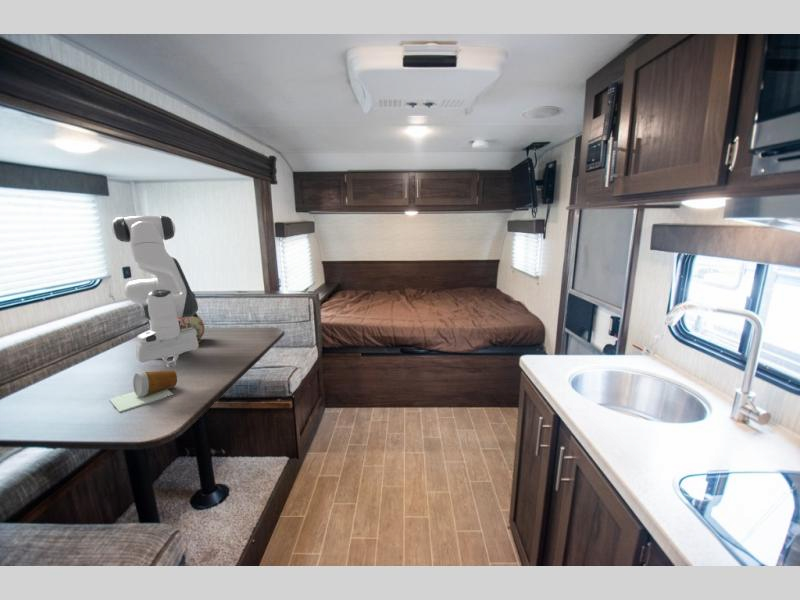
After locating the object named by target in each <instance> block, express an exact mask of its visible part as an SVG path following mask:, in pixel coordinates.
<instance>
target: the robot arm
mask: <svg viewBox="0 0 800 600" xmlns="http://www.w3.org/2000/svg"><path fill="white" fill-rule="evenodd" d="M111 231H112V234H113V236H114V237H115V238H116V239H117V240H118V241H119V242H124V243H130V246H131V248H130V249H131V252H132V255H133V258H134V261H135V262H136V263H137V266H138V268H139V269H140V270H141V271H143V272H145V273H147V274H150V275H153V276H154V277H155V278H154V277H153V278H139V279H135V280H130V281H128V282H127V283H126V284H125V286H124V289H123V290H124V294H125V296H126V298H127V299H128V300H129V301H131V302H133V303H136V304H137V305H138V306H140V307H141V308H142V309H143V313H144V314H143V315H144V319H147V320H148V323H149V329H148V330H146V331H144V332H141V333H139V334H137V336H136V337H137V341H138V342H137V343H136V347H135V354H136V355H135V356H136V360H137V361H138V362H140V363H147V362H151V361H154V360H159V359H161V360H163V361H164V362H165V365H166V367H167V368H170V367H173V366H177V360H178V358H179V355H182V354H183V353H187V352H190V351H193V350H198V348H199V347H200V345H199V344H200V343H198V340H197V337H196V335H197V332H196V329H195V328H192V327H189V328H184V329H180V328H179V322H178V320H177V318H180V317H182V318H183V317H192V316H193V315H194V314H195V313H196V314H197V312H198V311H199V303H198V300H197V298H196V296H195V297H194V295H193V293H194V292H193V291H192V289H191V287H190V285H189V282H188V280H187V277H186V275H185V273H184V270H183V269H182V267H181V264H180V262H179V261H178V260H177V258H175V257H173V256H171V255H170V254H169V253H168V252H167V250H166V247H165V243H164V241H167V240H171V239H173V238H174V237H175V233H176V225H175V223H174V221H173V220H172V219H171V218H170V217H169V216H167V215H160V216H159V215H146V214H145V215H143V214H142V215H135V216H133V215H132V216H126V217H124V216H119V217H115V219H113V221H112V224H111ZM192 292H193V293H192ZM172 357H173V358H172ZM168 358H172V360H169V361H168Z"/></svg>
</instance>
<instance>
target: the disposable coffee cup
mask: <svg viewBox="0 0 800 600" xmlns="http://www.w3.org/2000/svg"><path fill="white" fill-rule="evenodd" d="M177 384H178V375H177V372H176V371H175V370H158V371H156V370H155V371H144V370H143V371H142V370H140V371H139V372H136V373H135V374H134V376H133V382H132V386H133V392H134V391H135V394H136V395H137V396H141V397H144V396H146V395H147V394H151V393H154V392H157V391H160V390H164V389H167V390H168V389H169V388H173V387H175V386H177Z"/></svg>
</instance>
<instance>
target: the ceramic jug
mask: <svg viewBox="0 0 800 600" xmlns="http://www.w3.org/2000/svg"><path fill="white" fill-rule="evenodd" d="M192 293H193V295H194V297H195V298H196V294H195V293H194V292H193V291H192ZM177 320H178V322H179V328H180V329H184V328H189V327H192V328H195V329H196V332H197V335H196V337H197V340H198V344H200V342H202V341H201V339H202V337H203V336H204V334H205V324H204V322H203V319H202V318H201V317H200V316H199V314H197V312H196V313H195V314H194V315H193V316H192V317H183V318H182V317H180V318H177Z"/></svg>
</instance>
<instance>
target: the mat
mask: <svg viewBox="0 0 800 600" xmlns="http://www.w3.org/2000/svg"><path fill="white" fill-rule="evenodd" d="M170 395H172V396H173V395H174V394H173V393H172V392H171V391H170V390H169V389H168V388H167V389H164V390H160V391H157V392H154V393H151V394H147V395H146V396H144V397H141V396H137V395H136V394H135V391H134V390H133V391H132V392H128V393H124V394H123V395H122V394H121V395H118V396H115V397H112V398H109V399H108V400H109V402H110V403H111V404H112V405H113V407H114V408H115V410H117V411H118V412H119V414H120V413H123V412H124V413H125V412H127V411H129V410H134V409H135V408H139V407H141V406H144V405H147V403H148V404H150V402H151V403H154V402H157V401H160V400H162V399H161V398H163V399H165V398H164V397H166V398H168V397H167V396H169V397H171V396H170ZM159 399H160V400H159ZM156 400H157V401H156ZM153 401H154V402H153Z"/></svg>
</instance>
